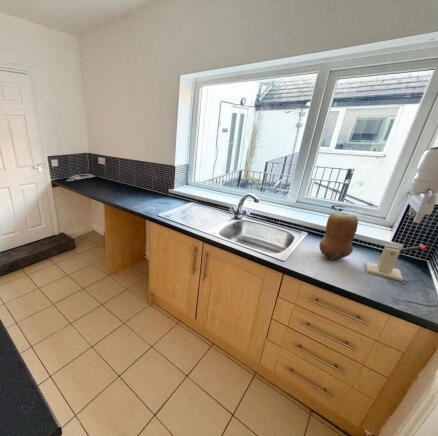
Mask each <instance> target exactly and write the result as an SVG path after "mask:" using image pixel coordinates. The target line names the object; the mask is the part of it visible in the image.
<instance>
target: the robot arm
mask: <svg viewBox="0 0 438 436" xmlns="http://www.w3.org/2000/svg"><path fill="white" fill-rule="evenodd" d="M409 190H410V191H409V193H408V198H407V204H408V205H409V206H410V207H409V212H408V216H409V217H413V222H414V223H417V224H420V223H421V222H422V220H423V218H424V217H425V216H426V215H427V216H429V215H431V214H432V213H433V211H434V208H435V206H436V202H437V195H438V146H433V147H430V148H428V149H427V150H426V151H424V153H423V154H422V156H421V158H420V160H419V163H418V164H417V167H416V174H415V175H414V177H413V179H412V181H411V183H410V184H409Z"/></svg>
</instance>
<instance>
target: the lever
mask: <svg viewBox="0 0 438 436" xmlns="http://www.w3.org/2000/svg"><path fill="white" fill-rule="evenodd" d="M390 249H394V250H399V251H400V253H402V252H409V251H417V250H421V251H422V252H425V251H427V247H426V246H425V244H424V243H419V244H418V246H411V247H404V248H399V249H395V248H390Z"/></svg>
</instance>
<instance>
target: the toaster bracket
mask: <svg viewBox="0 0 438 436" xmlns="http://www.w3.org/2000/svg"><path fill="white" fill-rule="evenodd" d="M390 248H395V249H400V248H399V247H398V246H393V245H389V244H385V245H384V248H383V250H382V253H381V255H380V257H379V261H378V262H377V263H373V262H369V261H366V262H365V266H366V267H365V268H366V272H367V273H369V274H372V275H377V276H379V277H380V276H381V277H384V278H388V279H391V280H395V281H399V282H403V281H404V277H403V275H402V272H401V271H400V269H398V268H395V265H396V263H397V260H398V258H399V256H400V255H401V254H400V253H401V252H400V251H399V250H394V249H390Z"/></svg>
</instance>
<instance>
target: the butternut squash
mask: <svg viewBox="0 0 438 436" xmlns="http://www.w3.org/2000/svg"><path fill="white" fill-rule="evenodd" d="M326 221H327V222H326V225H325V235H324V236H323V237H322V238H321V240H320V242H319V250H320V253H321V254H322V256H325V257H326V258H327V259H329V260H333V261H338V260H341V259H344V258H346V257H348V256H350V255H351V254H352V253H353V250H354V249H353V240H354V238H355V235H356V233H357V230H358V224H359V220H358V217H357V215H355V214H352V213H348V212H332V213H331V214H330V215H329V216H328V218H327V220H326Z"/></svg>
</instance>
